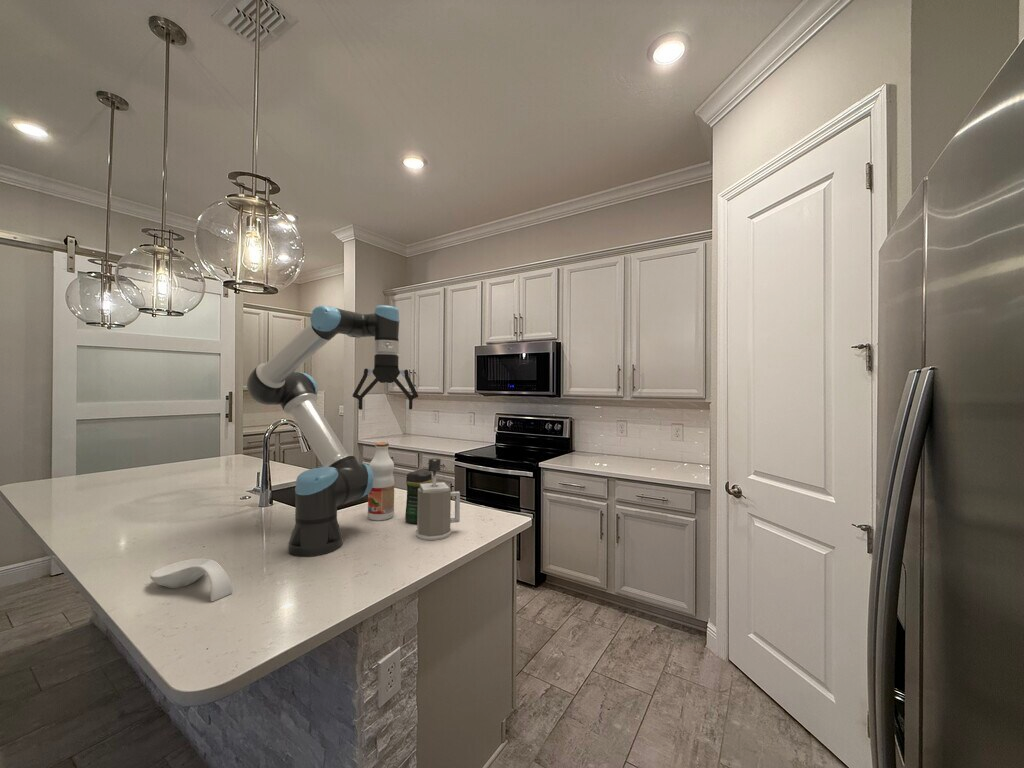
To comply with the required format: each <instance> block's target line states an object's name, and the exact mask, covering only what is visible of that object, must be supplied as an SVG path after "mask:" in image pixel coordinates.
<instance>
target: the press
mask: <svg viewBox="0 0 1024 768" xmlns="http://www.w3.org/2000/svg"><path fill="white" fill-rule="evenodd" d="M432 484H433V482H431V483H426V484H420V488H418V507H417V523H416V524H417V526H416V531H415V537H416V538H417V539H420V540H422V541H423V540H424V541H441V540H444V539H447V538H448V537H450V536H451V535H452V528H451V524H454V523H460V521H461V520H460V518H461V517H460V514H461V513H460V510H461V507H460V505H461V493H460V491H452V490H451V488H450V486H448V485H447V484H446V482H443V481H442V482H436V487H432ZM452 497H454V517H451V512H452V511H451V508H452V507H451V505H452V504H451V501H452V499H451V498H452Z"/></svg>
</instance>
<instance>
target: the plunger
mask: <svg viewBox="0 0 1024 768" xmlns="http://www.w3.org/2000/svg"><path fill="white" fill-rule="evenodd" d="M441 460H442V459H441V458H439V457H438V458H437V457H435V458H428V466H427V467H428V469H427V470H429V471H431V472H432V483H433V484H432V487H436V483H437V472H439V471H441V467H442V466H441V464H442V463H441V462H442V461H441Z"/></svg>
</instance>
